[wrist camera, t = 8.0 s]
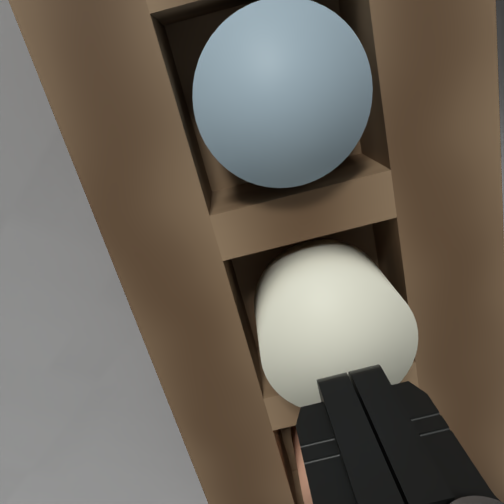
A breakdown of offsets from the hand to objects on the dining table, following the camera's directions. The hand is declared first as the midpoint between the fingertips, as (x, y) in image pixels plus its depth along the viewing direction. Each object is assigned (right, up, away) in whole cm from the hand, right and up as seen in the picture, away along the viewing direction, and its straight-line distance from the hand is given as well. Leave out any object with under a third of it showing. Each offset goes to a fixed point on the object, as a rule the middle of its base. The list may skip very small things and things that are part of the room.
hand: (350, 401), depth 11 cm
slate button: (-2, +8, +4) cm, 9 cm away
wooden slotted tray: (0, +3, +7) cm, 8 cm away
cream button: (0, +2, +5) cm, 5 cm away
